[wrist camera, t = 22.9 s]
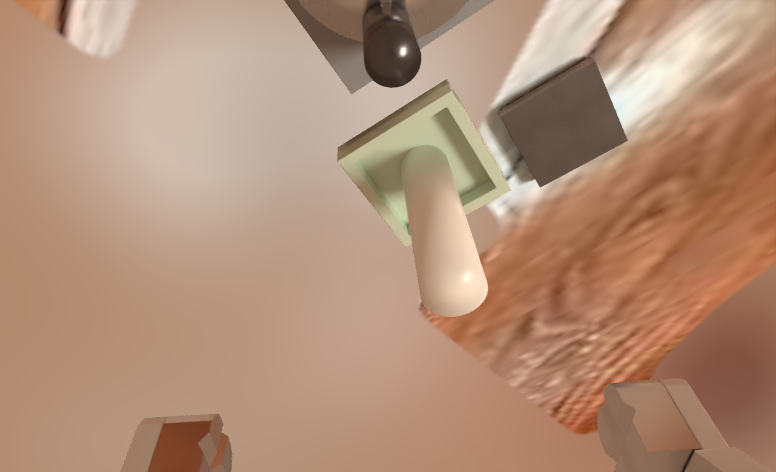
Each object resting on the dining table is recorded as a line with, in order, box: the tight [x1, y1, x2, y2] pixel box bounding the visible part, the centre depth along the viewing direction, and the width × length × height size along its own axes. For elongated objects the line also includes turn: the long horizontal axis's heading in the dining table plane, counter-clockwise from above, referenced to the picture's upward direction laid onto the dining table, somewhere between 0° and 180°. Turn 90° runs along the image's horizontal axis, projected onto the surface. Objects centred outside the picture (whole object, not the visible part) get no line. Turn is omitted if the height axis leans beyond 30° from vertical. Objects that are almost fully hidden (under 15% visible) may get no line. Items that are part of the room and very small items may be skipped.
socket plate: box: [498, 57, 628, 187], centre depth 39 cm, size 7×7×1 cm
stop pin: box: [400, 145, 488, 317], centre depth 34 cm, size 4×4×14 cm
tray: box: [338, 80, 511, 247], centre depth 40 cm, size 9×9×2 cm
